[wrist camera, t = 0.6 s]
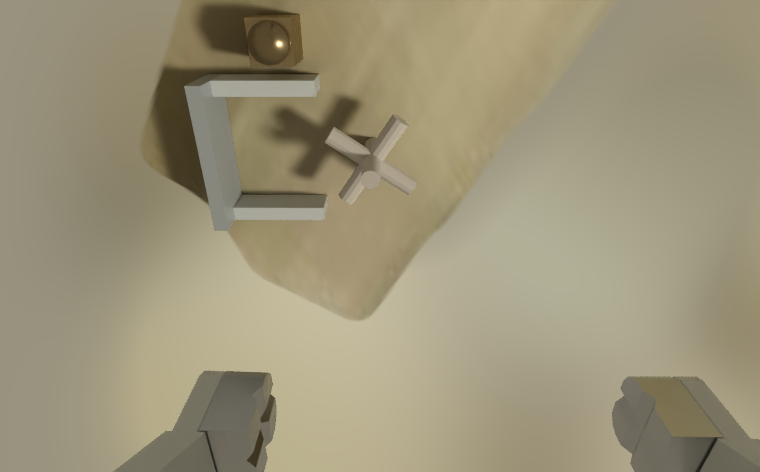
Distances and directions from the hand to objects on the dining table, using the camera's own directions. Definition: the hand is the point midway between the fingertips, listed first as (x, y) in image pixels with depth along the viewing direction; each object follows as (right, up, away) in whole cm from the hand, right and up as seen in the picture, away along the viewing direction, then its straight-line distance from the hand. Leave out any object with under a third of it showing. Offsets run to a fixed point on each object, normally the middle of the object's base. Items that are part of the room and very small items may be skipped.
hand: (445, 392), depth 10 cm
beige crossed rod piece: (-2, +14, +39) cm, 41 cm away
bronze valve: (-11, +23, +34) cm, 42 cm away
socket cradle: (-13, +14, +39) cm, 43 cm away
